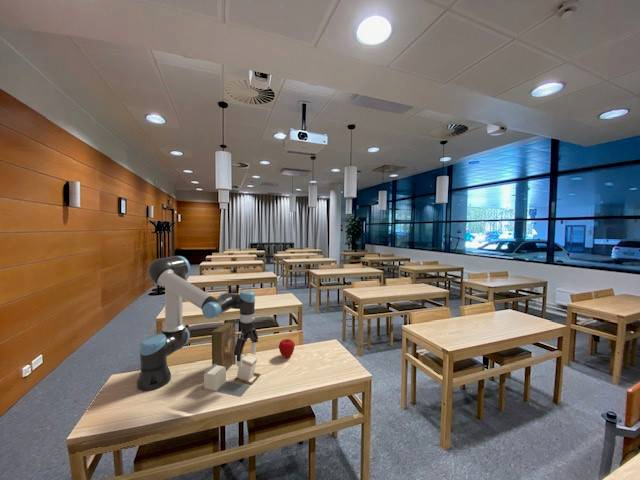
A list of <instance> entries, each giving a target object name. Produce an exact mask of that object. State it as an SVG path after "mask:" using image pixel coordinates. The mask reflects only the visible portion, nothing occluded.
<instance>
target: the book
mask: <svg viewBox="0 0 640 480" xmlns="http://www.w3.org/2000/svg"><path fill="white" fill-rule="evenodd" d="M236 343H237V342H236V322H235V321H231V320H229V321H226V322H225V323H223V324H221V325H220V326H218V327H217V328H215V329H214V330H212V331H211V366H212V365H213V364H217V365H218V366H224V367H226V372H227V371H228V370H229V369H230V368H231V367H232V366H233V365H234V366H235V365H237V355H234V351H235V347H236Z"/></svg>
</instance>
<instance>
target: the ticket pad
mask: <svg viewBox="0 0 640 480" xmlns="http://www.w3.org/2000/svg"><path fill="white" fill-rule="evenodd" d="M226 381H227V371H226V367H224V366H218V365H217V364H213V365H212V364H211V366H209V367H208V368H207V369H206V370H204V371H203V387H204V389H203V390H205V389H209V390H208V391H210V390H214V391H217V390H218V389H219V388H220V387H221V386H222V385H223V384H224V383H225V382H226ZM214 391H213V392H214Z"/></svg>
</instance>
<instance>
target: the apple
mask: <svg viewBox="0 0 640 480" xmlns="http://www.w3.org/2000/svg"><path fill="white" fill-rule="evenodd" d="M295 346H296V345H295V342H294V340H292V339H290V338H286V339H281V341H280V342H279V345H278V349H279V352H280V355H281V356H283V357H284V358H289V357H291V356H292V355H293V353H294V350H295Z"/></svg>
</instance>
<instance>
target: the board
mask: <svg viewBox="0 0 640 480" xmlns="http://www.w3.org/2000/svg"><path fill="white" fill-rule="evenodd" d="M250 387H251V385H250V384H248V385H247V384H245V383H240V382H238V383H237V382H232V381H228V380H226V382H225V383H224V384H223V385H222V386H221V387H220V388H219V389H218V390H217V391H214V390H209V389H204V386H203V387H202V388H201V389H202V390H205V391H206V390H207V391H210V392H215V393H220V394H225V395H230V396H235V397H239V398H241V397H242V396H243V395H244V394H245V393H246V392H247V391H248V389H249V388H250Z"/></svg>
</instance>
